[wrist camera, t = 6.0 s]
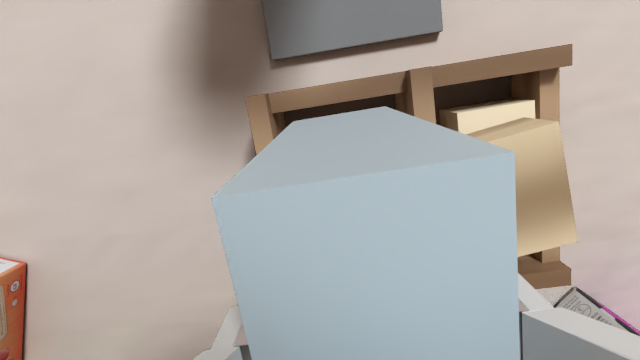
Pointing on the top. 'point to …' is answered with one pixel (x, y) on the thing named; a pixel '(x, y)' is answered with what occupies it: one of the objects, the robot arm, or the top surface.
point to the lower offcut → (485, 115)
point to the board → (374, 242)
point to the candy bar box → (593, 310)
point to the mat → (345, 23)
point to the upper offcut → (537, 182)
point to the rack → (418, 100)
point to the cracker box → (11, 308)
